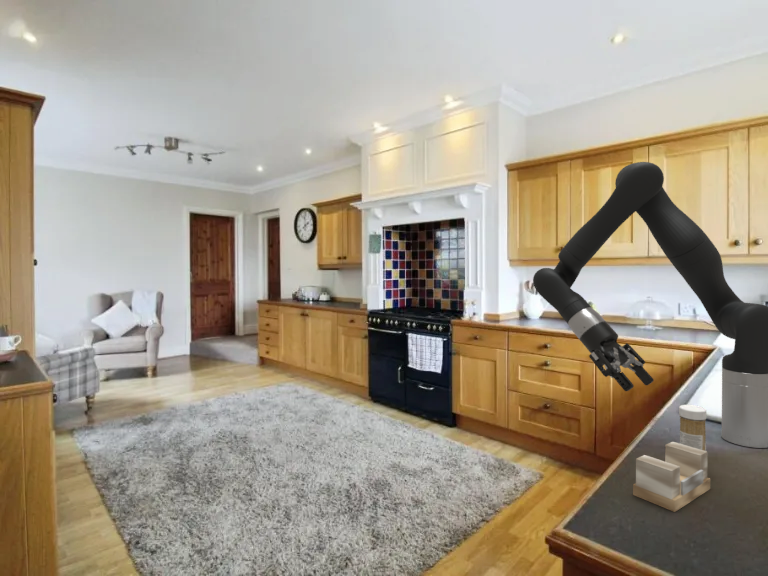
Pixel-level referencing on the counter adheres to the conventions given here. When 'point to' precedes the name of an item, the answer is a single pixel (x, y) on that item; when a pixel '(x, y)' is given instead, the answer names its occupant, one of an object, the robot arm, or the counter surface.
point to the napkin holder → (672, 477)
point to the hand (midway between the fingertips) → (640, 386)
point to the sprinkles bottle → (692, 426)
